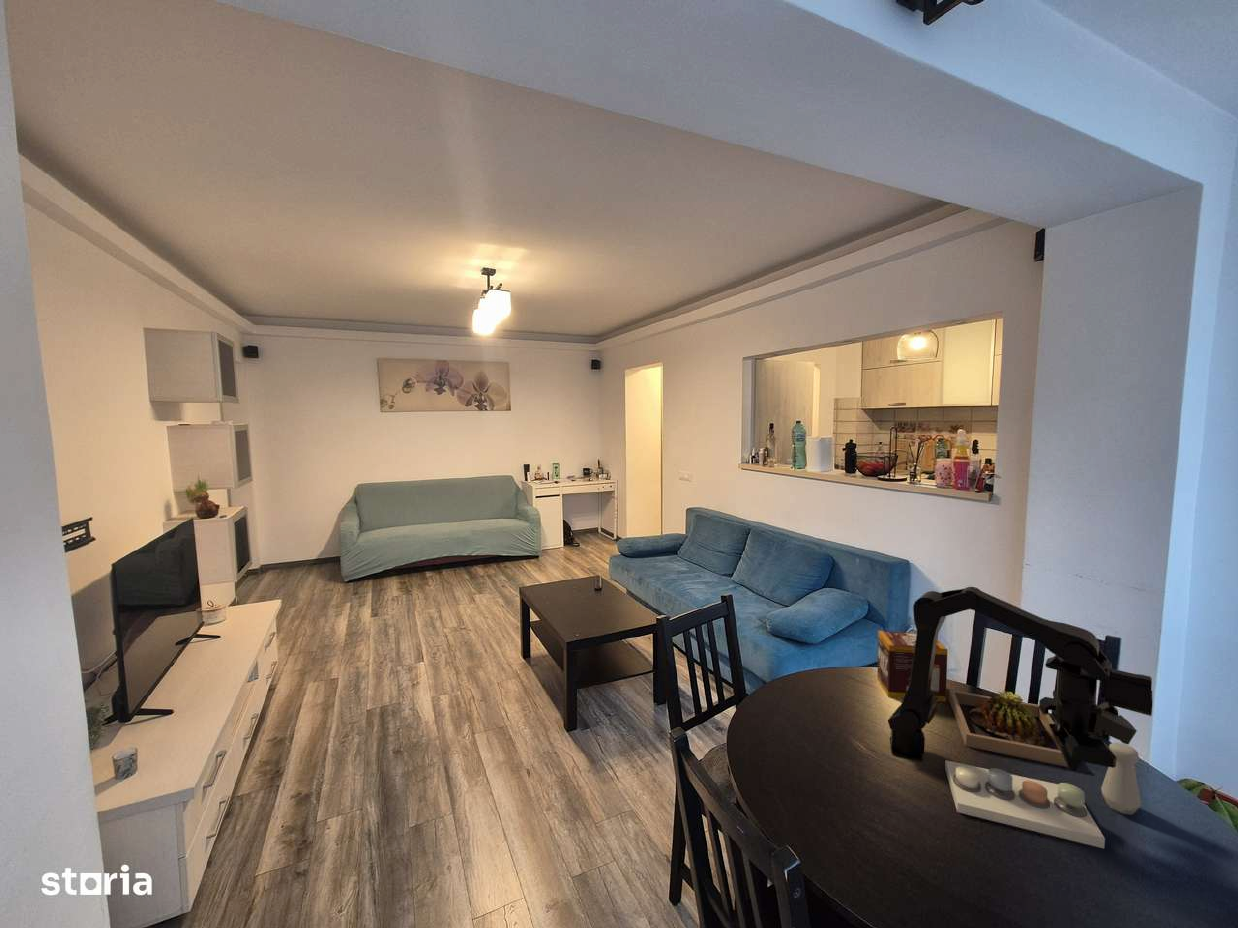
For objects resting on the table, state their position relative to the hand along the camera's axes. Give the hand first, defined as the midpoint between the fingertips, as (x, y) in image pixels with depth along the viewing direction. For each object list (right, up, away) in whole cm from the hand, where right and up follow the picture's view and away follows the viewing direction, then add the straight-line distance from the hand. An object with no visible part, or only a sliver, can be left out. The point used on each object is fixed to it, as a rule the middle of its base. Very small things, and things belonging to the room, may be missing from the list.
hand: (1072, 769), depth 101 cm
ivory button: (-16, -7, +8) cm, 19 cm away
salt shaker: (+13, -10, +3) cm, 16 cm away
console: (-8, -10, +4) cm, 13 cm away
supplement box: (-4, -6, +49) cm, 49 cm away
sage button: (0, -6, +1) cm, 6 cm away
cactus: (+10, -8, +30) cm, 33 cm away
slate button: (-10, -6, +5) cm, 13 cm away
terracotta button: (-5, -7, +3) cm, 9 cm away
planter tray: (+9, -7, +29) cm, 31 cm away
